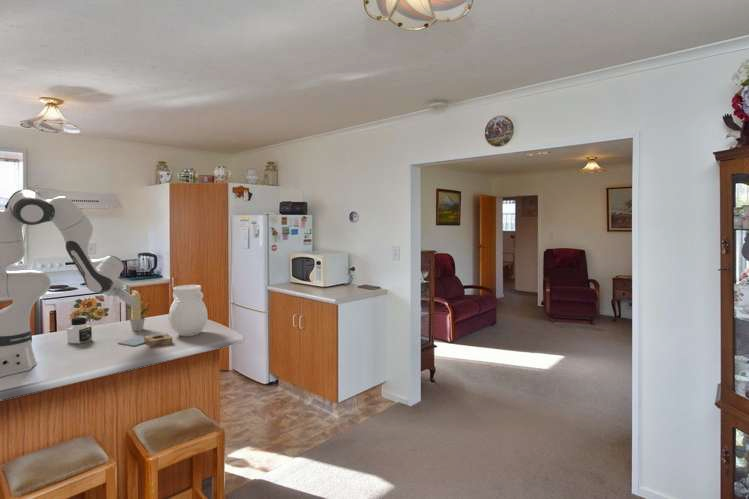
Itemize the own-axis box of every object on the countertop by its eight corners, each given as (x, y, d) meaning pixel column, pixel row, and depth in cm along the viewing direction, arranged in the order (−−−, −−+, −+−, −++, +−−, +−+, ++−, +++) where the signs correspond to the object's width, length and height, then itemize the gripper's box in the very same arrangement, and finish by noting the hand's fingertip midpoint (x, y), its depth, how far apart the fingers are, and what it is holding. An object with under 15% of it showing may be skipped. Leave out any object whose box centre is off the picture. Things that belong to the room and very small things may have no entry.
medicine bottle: (79, 344, 204) (78, 319, 203) (67, 342, 206) (66, 318, 205) (92, 339, 211) (91, 315, 210) (80, 338, 213) (79, 315, 212)
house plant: (129, 335, 219) (128, 304, 218) (115, 331, 226) (114, 301, 225) (156, 329, 231) (155, 299, 230) (141, 325, 239) (140, 296, 237)
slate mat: (134, 346, 201) (134, 345, 201) (118, 343, 205) (118, 342, 205) (154, 340, 211) (154, 339, 211) (138, 337, 215) (138, 336, 215)
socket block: (149, 347, 200) (149, 341, 199) (144, 342, 207) (144, 336, 207) (172, 343, 206) (172, 337, 206) (166, 339, 214) (166, 333, 213)
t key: (133, 321, 203) (132, 293, 201) (130, 318, 209) (129, 290, 208) (142, 320, 205) (141, 292, 204) (138, 317, 211) (137, 290, 210)
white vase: (160, 337, 217) (159, 288, 215) (186, 328, 234) (185, 283, 232) (191, 340, 211) (190, 290, 209) (215, 331, 229) (214, 284, 227)
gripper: (122, 284, 193) (146, 303, 200) (114, 279, 209) (137, 296, 216) (110, 295, 190) (136, 314, 197) (104, 289, 206) (128, 306, 213)
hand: (137, 305), depth 207 cm, fingers closed on t key, 4 cm apart
